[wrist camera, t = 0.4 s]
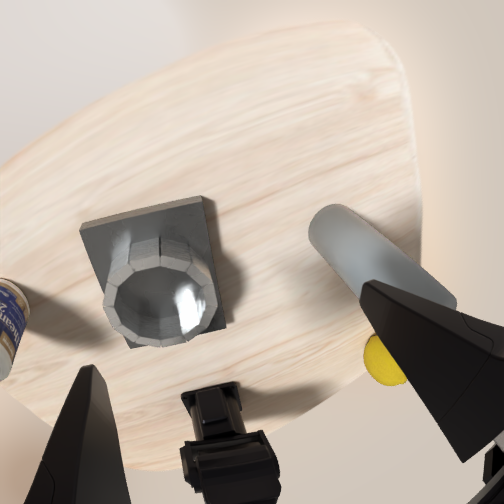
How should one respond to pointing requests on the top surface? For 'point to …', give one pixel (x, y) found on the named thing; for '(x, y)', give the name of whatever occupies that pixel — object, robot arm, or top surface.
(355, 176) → the top surface
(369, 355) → the lemon
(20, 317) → the pill bottle
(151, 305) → the duct plate
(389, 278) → the grey rounded cylinder
